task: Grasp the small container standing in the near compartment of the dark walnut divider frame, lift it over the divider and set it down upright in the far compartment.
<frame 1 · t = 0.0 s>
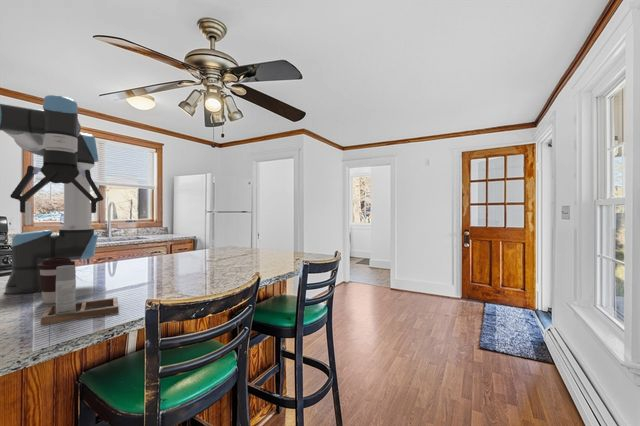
hand: (60, 224, 87), 28 cm above the counter, fingers open, 13 cm apart
walnut divider frame: (83, 312, 94), on the counter
container: (65, 316, 92), resting in walnut divider frame
coffee cup: (56, 301, 105), on the counter
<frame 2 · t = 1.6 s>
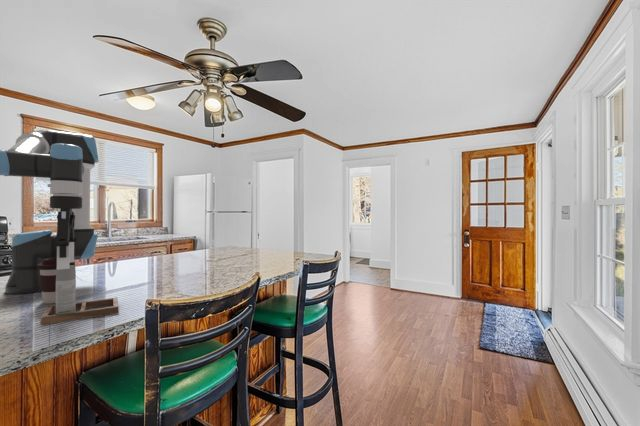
hand: (65, 265, 91), 15 cm above the counter, fingers open, 13 cm apart
nothing on the counter moved.
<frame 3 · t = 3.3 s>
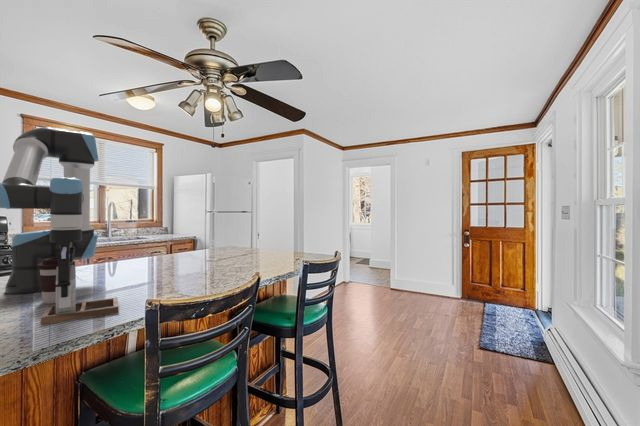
hand: (65, 304, 92), 3 cm above the counter, fingers closed on container, 5 cm apart
container: (65, 316, 92), resting in walnut divider frame, touching gripper
everything else where it was.
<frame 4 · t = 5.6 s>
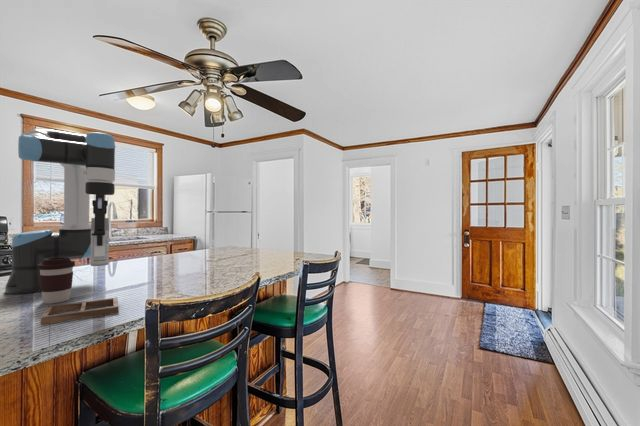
hand: (99, 254, 96), 18 cm above the counter, fingers closed on container, 5 cm apart
container: (99, 265, 96), point 15 cm above the counter, touching gripper
everything else where it was.
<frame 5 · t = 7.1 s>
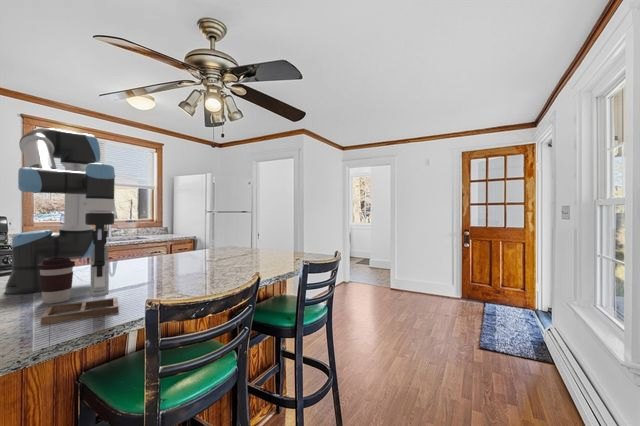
hand: (99, 284, 96), 8 cm above the counter, fingers closed on container, 5 cm apart
container: (99, 295, 96), point 5 cm above the counter, touching gripper
everything else where it was.
when the fingers open (5 cm above the counter, at t = 8.1 s): container drops 1 cm, resting in walnut divider frame.
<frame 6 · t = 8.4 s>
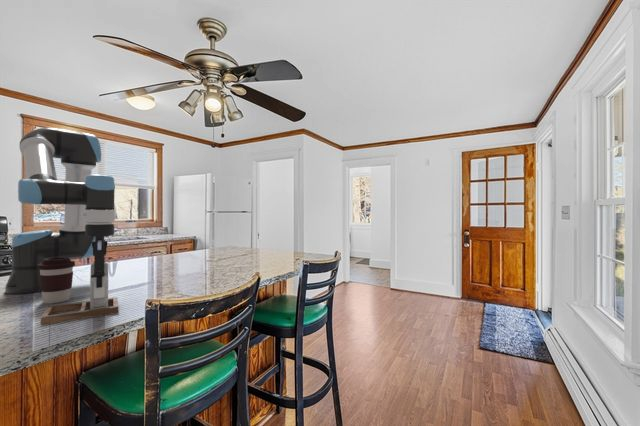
hand: (99, 294, 96), 5 cm above the counter, fingers open, 8 cm apart
container: (99, 311, 96), resting in walnut divider frame
everything else where it was.
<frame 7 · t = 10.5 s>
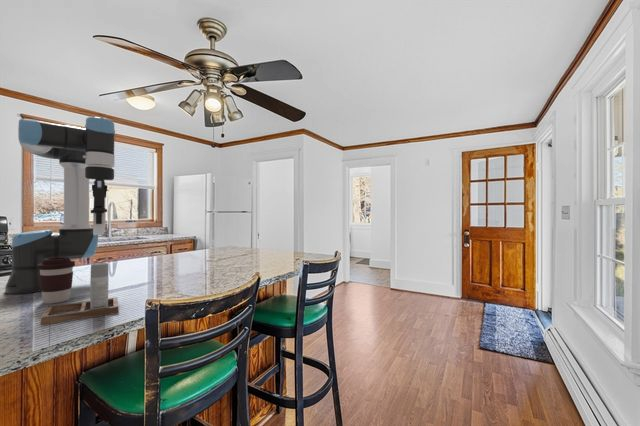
hand: (99, 233, 97), 25 cm above the counter, fingers open, 13 cm apart
nothing on the counter moved.
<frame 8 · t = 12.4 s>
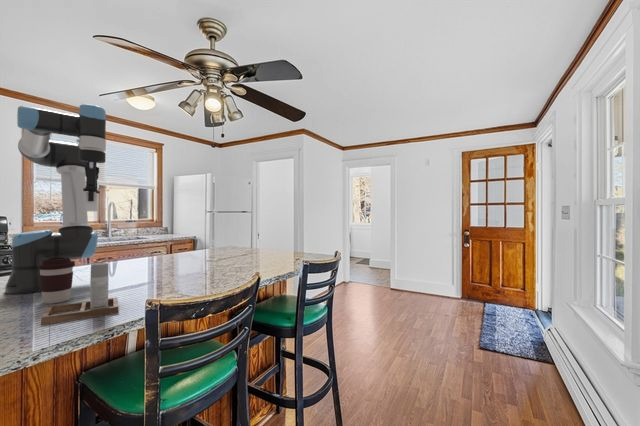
hand: (91, 211, 105), 32 cm above the counter, fingers open, 13 cm apart
nothing on the counter moved.
at the end: container inside the target area on the walnut divider frame (0.4 cm from its centre), point 0.0 cm above the walnut divider frame's base; container tilted 0°; the gripper is holding nothing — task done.
